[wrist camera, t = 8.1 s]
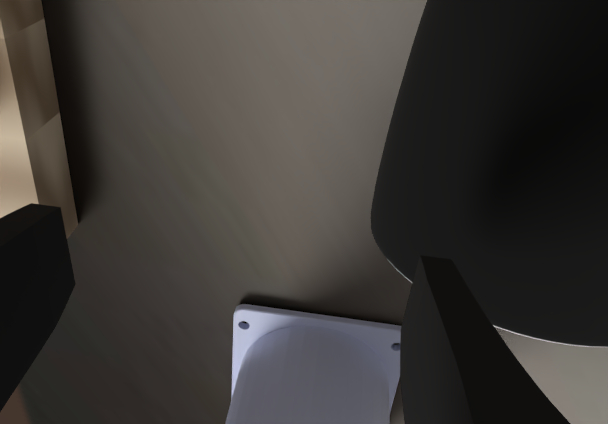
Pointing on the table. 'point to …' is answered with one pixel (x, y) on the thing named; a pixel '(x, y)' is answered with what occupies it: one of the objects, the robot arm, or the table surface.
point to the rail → (30, 117)
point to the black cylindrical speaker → (506, 161)
